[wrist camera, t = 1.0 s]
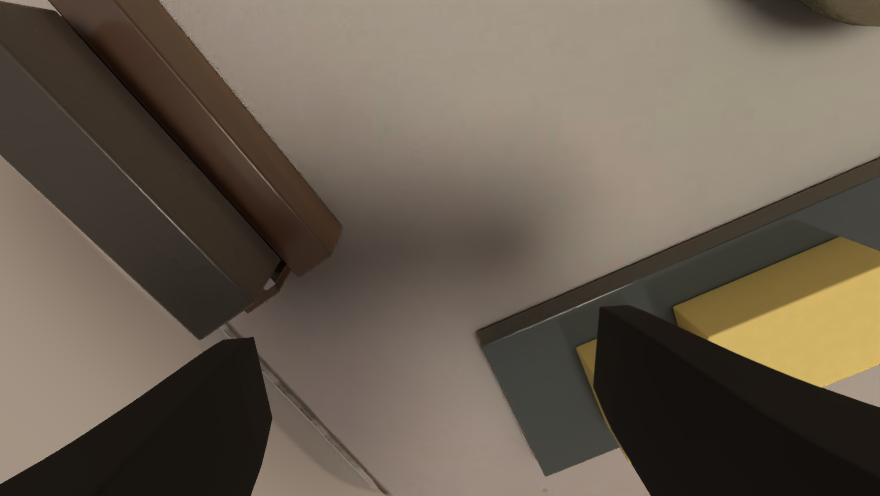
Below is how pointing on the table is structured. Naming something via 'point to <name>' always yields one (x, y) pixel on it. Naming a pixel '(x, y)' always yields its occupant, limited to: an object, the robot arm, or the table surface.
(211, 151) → the knife rack
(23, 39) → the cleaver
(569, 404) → the butter board
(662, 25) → the table surface
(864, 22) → the stone
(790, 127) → the table surface
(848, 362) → the butter stick
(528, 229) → the table surface
